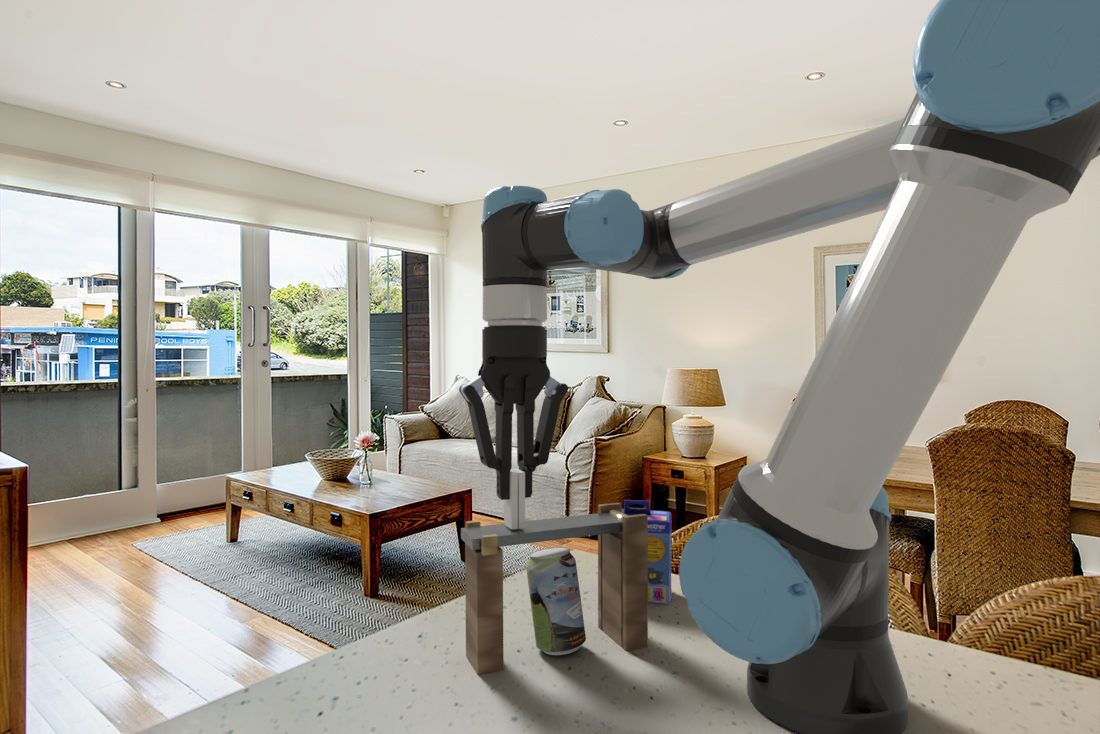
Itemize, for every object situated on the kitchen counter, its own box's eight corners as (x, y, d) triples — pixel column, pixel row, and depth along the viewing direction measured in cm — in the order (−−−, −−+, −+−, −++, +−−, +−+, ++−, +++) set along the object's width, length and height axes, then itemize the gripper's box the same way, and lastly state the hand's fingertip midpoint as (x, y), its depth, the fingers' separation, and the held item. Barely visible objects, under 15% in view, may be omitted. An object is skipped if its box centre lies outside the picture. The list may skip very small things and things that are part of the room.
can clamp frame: (618, 623, 87) (618, 502, 87) (647, 646, 80) (647, 515, 80) (463, 651, 79) (462, 518, 79) (480, 679, 72) (479, 534, 72)
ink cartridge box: (601, 600, 95) (601, 500, 95) (605, 587, 101) (605, 492, 100) (671, 605, 93) (671, 503, 93) (671, 591, 99) (671, 495, 98)
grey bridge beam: (618, 522, 85) (618, 508, 85) (638, 532, 81) (638, 517, 81) (460, 540, 78) (460, 525, 77) (472, 552, 73) (472, 536, 73)
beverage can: (574, 666, 75) (573, 561, 75) (517, 654, 78) (516, 553, 78) (594, 644, 81) (593, 546, 81) (540, 633, 84) (539, 539, 84)
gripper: (554, 326, 83) (553, 513, 84) (451, 324, 78) (451, 523, 79) (579, 324, 76) (578, 528, 77) (468, 322, 71) (468, 540, 72)
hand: (514, 525), depth 78 cm, fingers closed
